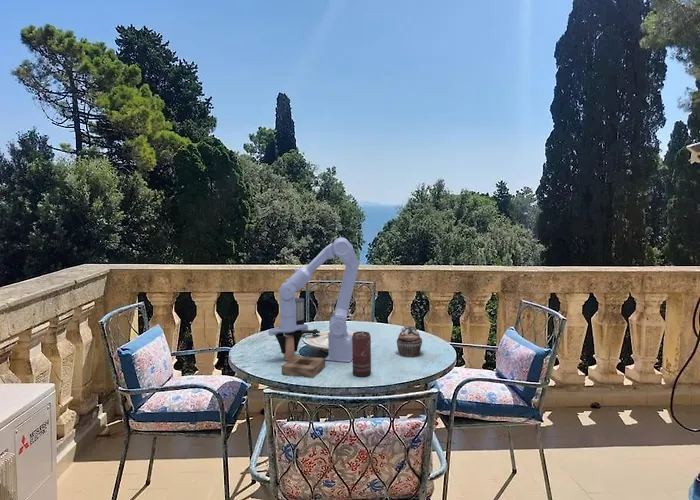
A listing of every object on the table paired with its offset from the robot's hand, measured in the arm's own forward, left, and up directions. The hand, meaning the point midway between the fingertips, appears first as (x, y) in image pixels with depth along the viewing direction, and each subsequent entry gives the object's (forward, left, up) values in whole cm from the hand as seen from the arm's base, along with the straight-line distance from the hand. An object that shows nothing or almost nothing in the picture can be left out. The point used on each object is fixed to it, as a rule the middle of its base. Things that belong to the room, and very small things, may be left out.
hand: (289, 351), depth 191 cm
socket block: (-10, +10, -3) cm, 14 cm away
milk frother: (+9, -33, -3) cm, 34 cm away
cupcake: (-41, -18, -3) cm, 45 cm away
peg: (0, 0, -2) cm, 2 cm away
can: (-30, +8, -3) cm, 31 cm away
